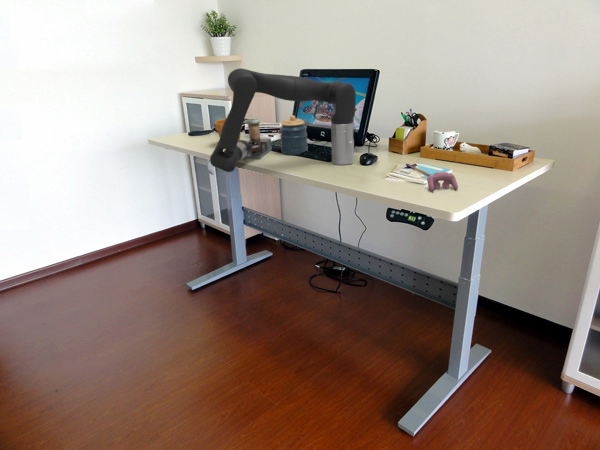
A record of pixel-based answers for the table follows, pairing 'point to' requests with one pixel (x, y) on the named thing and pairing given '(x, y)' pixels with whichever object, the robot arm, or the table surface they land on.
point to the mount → (264, 150)
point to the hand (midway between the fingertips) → (252, 141)
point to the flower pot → (219, 126)
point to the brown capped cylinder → (254, 132)
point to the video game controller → (441, 176)
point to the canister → (293, 136)
